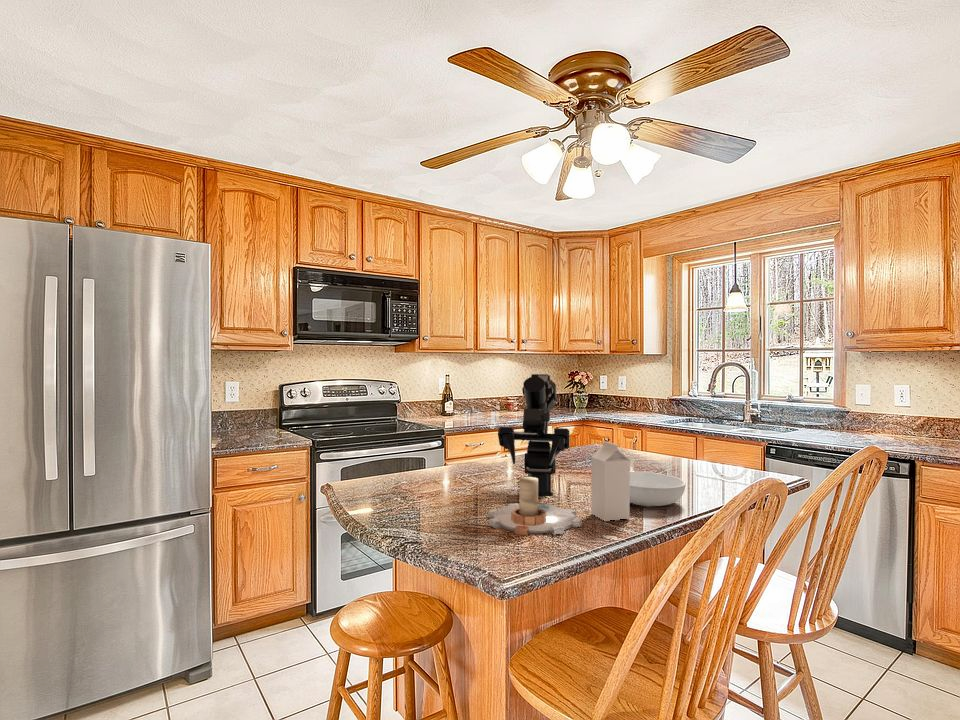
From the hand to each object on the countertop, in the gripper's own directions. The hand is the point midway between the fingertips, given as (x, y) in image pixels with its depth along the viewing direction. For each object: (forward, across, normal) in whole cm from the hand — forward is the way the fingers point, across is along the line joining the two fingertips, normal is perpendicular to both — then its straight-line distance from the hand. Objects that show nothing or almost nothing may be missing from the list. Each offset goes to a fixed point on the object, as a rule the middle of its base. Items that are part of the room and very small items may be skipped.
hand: (531, 464), depth 139 cm
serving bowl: (-5, +30, +24) cm, 39 cm away
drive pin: (+14, 0, +3) cm, 14 cm away
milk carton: (+7, +20, +13) cm, 24 cm away
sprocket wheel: (+12, +1, +7) cm, 14 cm away
